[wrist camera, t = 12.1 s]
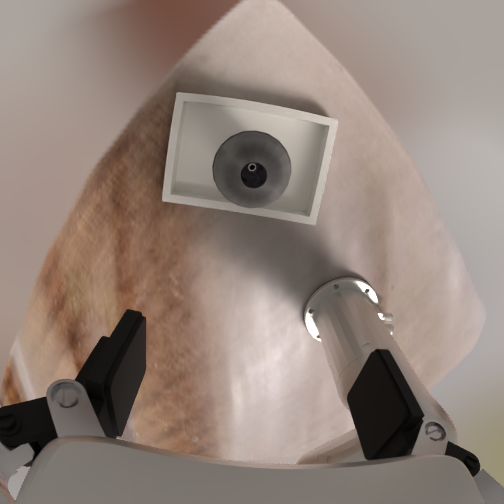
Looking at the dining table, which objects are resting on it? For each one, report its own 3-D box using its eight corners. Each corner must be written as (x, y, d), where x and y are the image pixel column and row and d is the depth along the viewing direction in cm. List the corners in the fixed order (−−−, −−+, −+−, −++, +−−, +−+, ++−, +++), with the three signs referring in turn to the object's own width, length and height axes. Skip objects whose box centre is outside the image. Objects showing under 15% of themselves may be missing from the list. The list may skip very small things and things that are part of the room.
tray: (331, 121, 36) (338, 120, 33) (310, 219, 41) (315, 225, 38) (181, 95, 34) (177, 92, 31) (167, 196, 39) (161, 201, 36)
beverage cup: (228, 192, 39) (216, 250, 20) (214, 139, 36) (186, 145, 18) (282, 179, 38) (321, 225, 20) (270, 125, 36) (300, 118, 17)
